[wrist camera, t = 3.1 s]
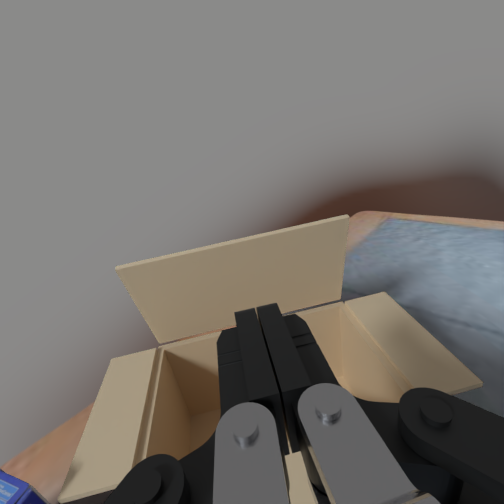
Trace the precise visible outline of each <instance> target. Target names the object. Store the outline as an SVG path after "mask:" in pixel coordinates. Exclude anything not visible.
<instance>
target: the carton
mask: <svg viewBox="0 0 504 504" xmlns="http://www.w3.org/2000/svg"><path fill="white" fill-rule="evenodd" d="M293 314H294V313H293ZM295 314H296V315H298V316H299V317H301V318H302V319H303V320H305V321H306V323H307V325H308V327H309V328H310V330H311V332H312V334H313V336H314V338H315V340H316V342H317V344H318V345H319V347H320V349H321V351H322V353H323V355H324V357H325V358H326V360H327V362H328V364H329V366H330V368H331V370H332V372H333V373H334V375H335V377H336V379H337V381H338V382H339V384H340V385H341V386H342V387H343V388H344V389H346V390H347V391H349V392H350V393H351V394H352V395H353V396H355V397H357V398H360V399H363V400H367V401H374V402H390V403H399V401H400V398H401V397H402V395H403V394H404V393H405V392H407V391H408V390H410V389H414V388H419V387H425V388H432V389H436V390H439V391H442V392H445V393H447V394H449V395H455V394H458V393H462V392H465V391H469V390H473V389H476V388H480V387H482V386H483V382H482V381H481V380H480V379H479V378H478V377H477V376H476V375H475V374H474V373H473V372H471V371H470V370H469V369H468V368H467V367H466V366H465V365H464V364H463V363H462V362H461V361H459V360H458V359H457V358H456V357H455V356H454V355H453V354H452V353H451V352H450V351H449V350H448V349H446V348H445V347H444V346H443V345H442V344H441V343H440V342H439V341H438V340H437V339H436V338H434V337H433V336H432V335H431V334H430V333H429V332H428V331H427V330H426V329H425V328H424V327H423V326H421V325H420V324H419V323H418V322H417V321H416V320H415V319H414V318H413V317H412V316H411V315H409V314H408V313H407V312H406V311H405V310H404V309H403V308H402V307H401V306H400V305H399V304H398V303H396V302H395V301H394V300H393V299H392V298H391V297H390V296H389V295H388V294H387V293H386V292H381V293H377V294H373V295H369V296H364V297H360V298H356V299H352V300H348V301H345V304H344V303H343V302H342V301H341V302H337V303H333V304H329V305H325V306H321V307H317V308H313V309H309V310H305V311H301V312H297V313H295ZM289 315H290V314H289ZM285 316H286V315H285ZM220 334H221V331H220V332H216V333H211V334H207V335H203V336H199V337H195V338H191V339H187V340H183V341H179V342H175V343H171V344H167V345H163V346H159V347H158V351H157V349H156V348H154V349H150V350H145V351H142V352H137V353H133V354H130V355H125V356H121V357H117V358H113V359H111V362H110V364H109V367H108V370H107V372H106V375H105V377H104V380H103V383H102V385H101V388H100V391H99V393H98V396H97V398H96V401H95V403H94V406H93V409H92V411H91V414H90V417H89V419H88V422H87V424H86V427H85V430H84V432H83V435H82V437H81V440H80V443H79V445H78V448H77V450H76V453H75V456H74V458H73V461H72V464H71V466H70V469H69V471H68V474H67V477H66V479H65V482H64V484H63V487H62V490H61V492H60V495H59V497H58V501H59V503H60V504H62V503H66V502H69V501H73V500H77V499H80V498H84V497H87V496H91V495H95V494H98V493H102V492H105V491H109V490H113V489H115V488H116V487H117V486H118V485H119V483H120V482H121V481H122V480H123V478H124V477H125V476H126V475H127V473H128V472H129V471H130V470H131V469H132V468H133V467H134V466H135V465H136V464H138V463H139V462H141V461H142V460H144V459H146V458H147V457H150V456H153V455H157V454H167V455H171V456H173V457H174V458H176V459H177V460H180V459H182V458H183V457H185V456H186V455H188V454H190V453H191V452H193V451H194V450H196V449H197V448H199V447H200V446H202V445H203V444H204V443H205V442H206V441H207V440H208V439H209V438H210V437H211V436H212V434H213V433H214V431H215V430H216V428H217V425H218V423H219V420H220V415H221V406H220V391H219V375H218V359H217V357H218V356H217V343H216V342H217V340H218V338H219V336H220ZM286 435H287V432H286ZM287 440H288V436H287ZM288 446H289V452H290V454H289V455H285V460H286V465H287V471H288V476H289V482H290V490H289V496H290V502H291V504H315V501H314V498H313V495H312V493H311V490H310V487H309V484H308V479H307V471H306V467H305V464H304V461H303V458H302V454H301V451H299V452H296V453H292V451H291V447H290V443H289V440H288Z"/></svg>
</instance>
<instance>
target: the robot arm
mask: <svg viewBox="0 0 504 504" xmlns="http://www.w3.org/2000/svg"><path fill="white" fill-rule="evenodd" d="M256 310H257V314H256V311H255V308H250V309H246V310H242V311H237V312H234V314H235V320H236V326H237V327H235V328H230V329H226V330H222V331H221V334H220V336H219V338H218V340H217V342H216V343H217V356H218V357H217V359H218V375H219V391H220V406H221V415H220V420H219V423H218V425H217V428H216V430H215V431H214V433H213V434H212V436H211V437H210V438H209V439H208V440H207V441H206V442H205V443H204V444H203V445H202V446H200V447H199V448H197V449H196V450H194V451H193V452H191V453H190V454H188V455H186V456H185V457H183V458H182V459H180V460H177V459H176V458H174V457H173V456H171V455H167V454H157V455H153V456H150V457H147V458H146V459H144V460H142V461H141V462H139V463H138V464H136V465H135V466H134V467H133V468H132V469H131V470H130V471H129V472H128V473H127V475H126V476H125V477H124V478H123V480H122V481H121V482H120V483H119V485H118V486H117V487H116V488H115V490H114V491H113V492H112V493H111V495H110V496H109V497H108V499H107V500H106V501H105V502H104V504H291V502H290V496H289V490H290V482H289V476H288V471H287V465H286V460H285V455H289V454H290V452H289V446H288V440H289V443H290V447H291V451H292V453H296V452H299V451H301V454H302V458H303V461H304V464H305V467H306V471H307V479H308V484H309V487H310V490H311V493H312V495H313V498H314V501H315V504H504V418H503V417H500V416H498V415H496V414H493V413H491V412H489V411H486V410H484V409H482V408H479V407H477V406H475V405H472V404H470V403H468V402H466V401H463V400H461V399H459V398H456V397H454V396H452V395H449V394H447V393H445V392H442V391H439V390H436V389H432V388H425V387H419V388H414V389H410V390H408V391H407V392H405V393H404V394H403V395H402V397H401V398H400V401H399V403H390V402H374V401H367V400H363V399H360V398H357V397H355V396H353V395H352V394H351V393H350V392H349V391H347V390H346V389H344V388H343V387H342V386H341V385H340V384H339V382H338V381H337V379H336V377H335V375H334V373H333V372H332V370H331V368H330V366H329V364H328V362H327V360H326V358H325V357H324V355H323V353H322V351H321V349H320V347H319V345H318V344H317V342H316V340H315V338H314V336H313V334H312V332H311V330H310V328H309V327H308V325H307V323H306V321H305V320H303V319H302V318H301V317H299V316H298V315H296V314H295V313H294V314H290V315H286V316H282V314H281V311H280V309H279V307H278V304H277V303H272V304H268V305H263V306H259V307H256ZM257 316H258V317H257ZM286 432H287V435H286ZM287 436H288V440H287Z"/></svg>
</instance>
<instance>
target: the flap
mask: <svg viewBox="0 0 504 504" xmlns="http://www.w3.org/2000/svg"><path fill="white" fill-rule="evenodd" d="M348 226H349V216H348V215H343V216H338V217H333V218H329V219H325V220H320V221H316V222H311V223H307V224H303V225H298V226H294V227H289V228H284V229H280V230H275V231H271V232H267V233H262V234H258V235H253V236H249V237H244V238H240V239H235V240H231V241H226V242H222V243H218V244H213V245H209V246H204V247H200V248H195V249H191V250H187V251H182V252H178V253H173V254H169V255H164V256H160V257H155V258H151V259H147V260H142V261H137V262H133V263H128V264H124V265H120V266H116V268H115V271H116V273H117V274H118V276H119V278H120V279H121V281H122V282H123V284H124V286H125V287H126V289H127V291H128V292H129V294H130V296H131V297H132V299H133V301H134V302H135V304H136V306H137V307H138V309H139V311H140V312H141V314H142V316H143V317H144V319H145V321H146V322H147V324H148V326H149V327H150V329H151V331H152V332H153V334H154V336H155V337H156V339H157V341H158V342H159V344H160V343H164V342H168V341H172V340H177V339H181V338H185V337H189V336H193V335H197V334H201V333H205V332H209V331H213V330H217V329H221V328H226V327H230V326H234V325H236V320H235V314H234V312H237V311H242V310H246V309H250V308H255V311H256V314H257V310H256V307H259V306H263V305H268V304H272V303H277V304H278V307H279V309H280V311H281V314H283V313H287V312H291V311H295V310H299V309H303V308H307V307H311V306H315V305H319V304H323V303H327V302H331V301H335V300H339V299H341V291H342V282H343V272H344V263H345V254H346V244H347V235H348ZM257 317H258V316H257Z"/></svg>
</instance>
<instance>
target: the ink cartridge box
mask: <svg viewBox="0 0 504 504" xmlns="http://www.w3.org/2000/svg"><path fill="white" fill-rule="evenodd" d="M0 504H50V503H49V502H48V501H47V500H46V499H45V498H44V497H43V496H42V495H41V494H40V493H39V492H38V491H37V490H36V489H35V488H34V487H33V486H31V485H30V484H28V483H26V482H24V481H22V480H20V479H18V478H16V477H14V476H11V475H9V474H7V473H5V472H4V471H3V470H1V469H0Z"/></svg>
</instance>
